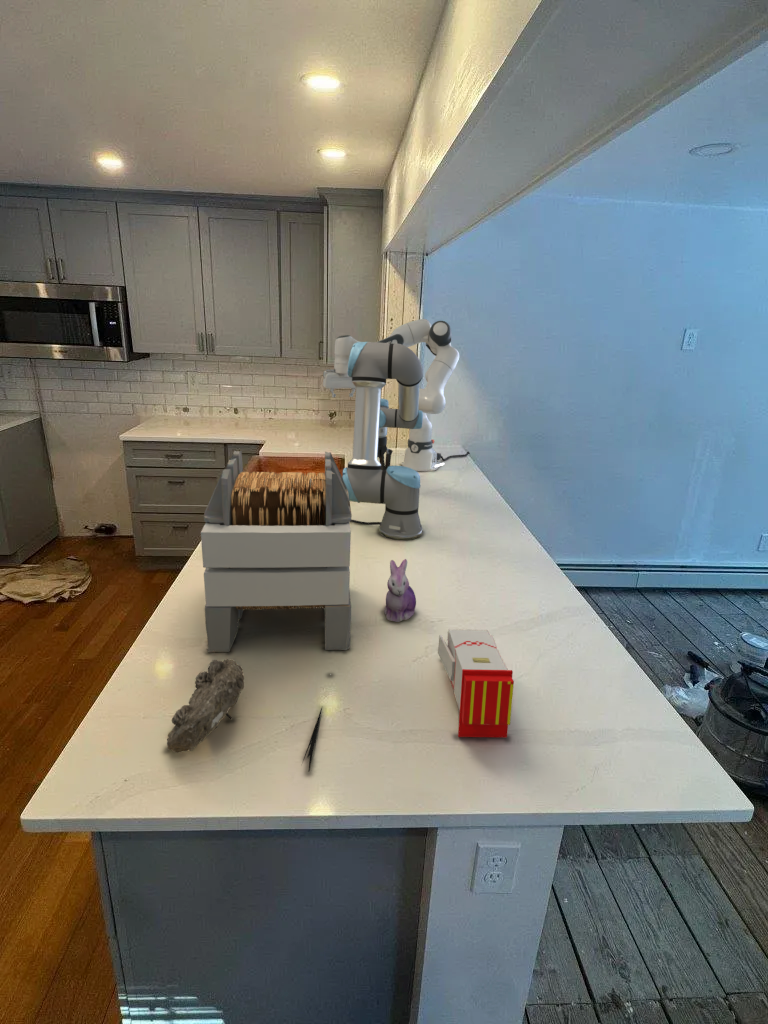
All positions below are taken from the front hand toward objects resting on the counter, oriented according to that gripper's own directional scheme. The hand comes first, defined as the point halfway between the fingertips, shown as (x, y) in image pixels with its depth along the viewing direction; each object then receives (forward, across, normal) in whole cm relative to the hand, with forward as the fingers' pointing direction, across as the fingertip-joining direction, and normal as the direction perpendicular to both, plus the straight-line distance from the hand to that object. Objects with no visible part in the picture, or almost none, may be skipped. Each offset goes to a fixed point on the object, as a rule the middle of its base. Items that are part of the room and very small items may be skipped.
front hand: (376, 488), depth 248 cm
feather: (-1, -73, -130) cm, 149 cm away
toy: (-1, -41, -134) cm, 140 cm away
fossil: (-1, -92, -121) cm, 152 cm away
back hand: (-31, +6, +55) cm, 63 cm away
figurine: (0, -40, -100) cm, 108 cm away
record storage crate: (0, -68, -89) cm, 112 cm away
